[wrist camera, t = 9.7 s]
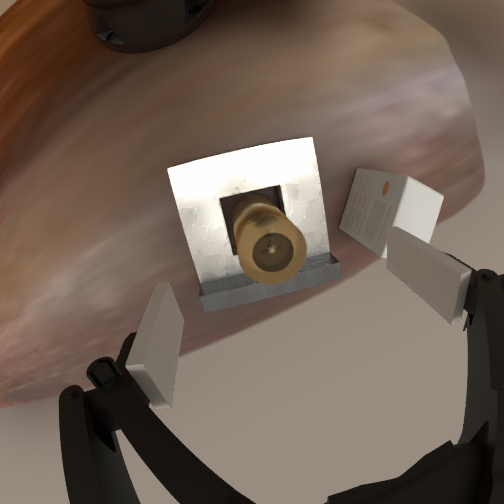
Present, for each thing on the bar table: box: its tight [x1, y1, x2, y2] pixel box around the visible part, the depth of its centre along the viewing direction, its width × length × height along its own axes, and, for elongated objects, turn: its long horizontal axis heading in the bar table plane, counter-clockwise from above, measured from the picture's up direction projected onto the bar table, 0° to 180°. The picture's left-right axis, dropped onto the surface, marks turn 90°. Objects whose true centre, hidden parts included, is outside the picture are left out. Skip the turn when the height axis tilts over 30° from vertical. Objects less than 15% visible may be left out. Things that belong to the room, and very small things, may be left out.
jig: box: [167, 137, 341, 313], centre depth 28 cm, size 15×15×6 cm
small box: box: [339, 168, 444, 259], centre depth 27 cm, size 8×6×10 cm
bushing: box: [232, 194, 307, 284], centre depth 25 cm, size 5×5×12 cm
